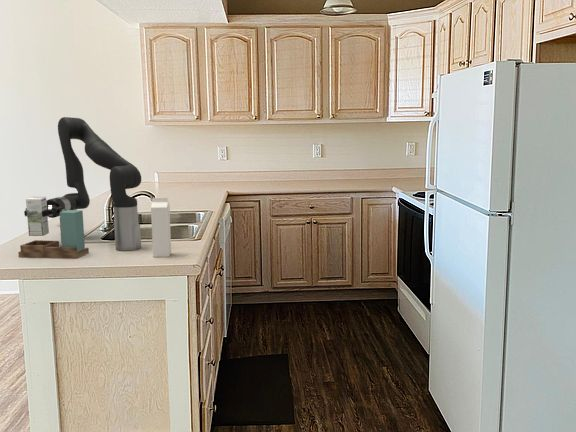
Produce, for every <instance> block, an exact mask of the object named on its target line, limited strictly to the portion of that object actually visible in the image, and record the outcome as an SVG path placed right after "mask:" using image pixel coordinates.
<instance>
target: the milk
mask: <svg viewBox="0 0 576 432" xmlns="http://www.w3.org/2000/svg"><path fill="white" fill-rule="evenodd" d="M170 209H171V208H170V203H169V198H168V197H152V198H151V205H150V213H151V214H150V215H151V219H150V220H151V239H152V241H151V242H152V243H151V244H152V257H153V258H163V257H164V258H169V257H170V256H171V255H172V241H171V239H172V237H171V215H170V214H171V213H170V211H171V210H170Z"/></svg>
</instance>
